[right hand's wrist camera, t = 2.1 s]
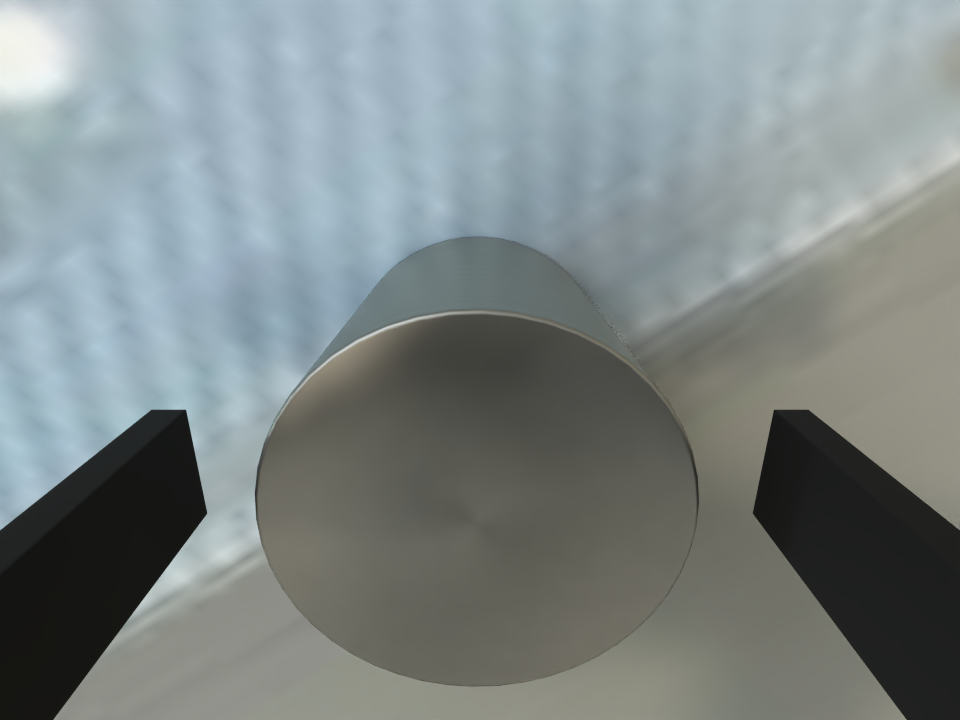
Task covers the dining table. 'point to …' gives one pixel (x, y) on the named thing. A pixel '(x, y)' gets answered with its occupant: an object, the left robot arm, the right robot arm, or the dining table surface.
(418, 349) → the canister
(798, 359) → the dining table surface
